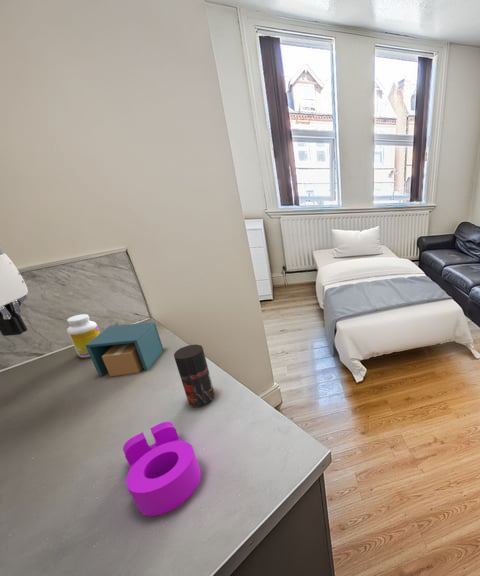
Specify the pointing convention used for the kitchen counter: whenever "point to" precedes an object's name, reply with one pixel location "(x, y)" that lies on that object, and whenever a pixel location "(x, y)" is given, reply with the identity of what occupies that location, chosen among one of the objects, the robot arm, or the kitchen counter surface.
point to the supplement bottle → (82, 333)
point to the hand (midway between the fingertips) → (15, 333)
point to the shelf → (122, 334)
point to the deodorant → (194, 375)
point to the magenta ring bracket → (161, 470)
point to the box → (122, 359)
